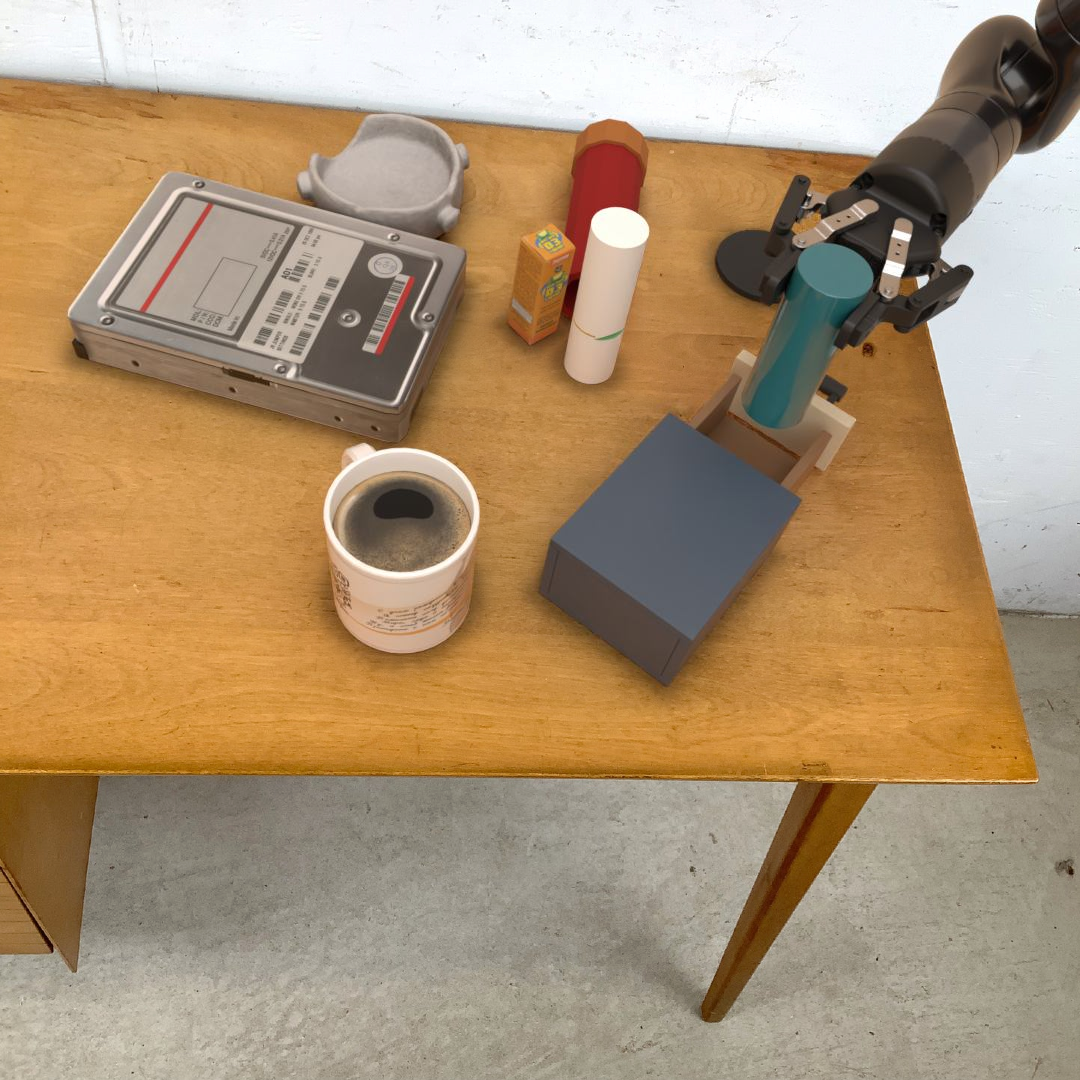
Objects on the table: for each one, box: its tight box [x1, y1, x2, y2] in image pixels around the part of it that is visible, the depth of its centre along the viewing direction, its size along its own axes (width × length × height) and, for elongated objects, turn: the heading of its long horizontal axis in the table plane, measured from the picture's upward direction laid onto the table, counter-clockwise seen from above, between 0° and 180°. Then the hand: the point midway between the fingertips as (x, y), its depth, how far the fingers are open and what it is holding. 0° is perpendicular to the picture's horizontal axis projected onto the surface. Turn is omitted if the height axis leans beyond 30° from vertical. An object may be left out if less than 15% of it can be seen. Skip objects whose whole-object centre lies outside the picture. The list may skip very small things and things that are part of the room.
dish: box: [295, 112, 471, 240], centre depth 92 cm, size 14×14×5 cm
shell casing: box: [560, 118, 650, 320], centre depth 91 cm, size 7×20×7 cm, turn 173°
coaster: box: [714, 229, 784, 304], centre depth 95 cm, size 9×9×1 cm
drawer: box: [687, 348, 857, 495], centre depth 79 cm, size 18×10×6 cm, turn 142°
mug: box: [322, 442, 481, 654], centre depth 69 cm, size 10×12×11 cm
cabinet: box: [538, 412, 803, 688], centre depth 73 cm, size 15×12×8 cm
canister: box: [741, 243, 873, 429], centre depth 68 cm, size 5×5×13 cm
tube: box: [563, 207, 650, 385], centre depth 80 cm, size 4×4×15 cm
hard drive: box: [67, 170, 468, 443], centre depth 83 cm, size 18×27×4 cm
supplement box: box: [507, 223, 575, 346], centre depth 83 cm, size 3×3×10 cm
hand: (805, 315), depth 63 cm, fingers closed on canister, 5 cm apart
